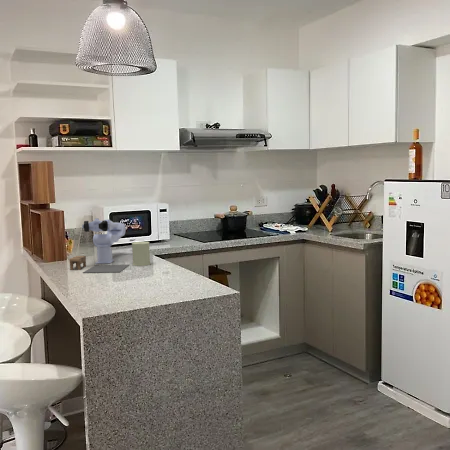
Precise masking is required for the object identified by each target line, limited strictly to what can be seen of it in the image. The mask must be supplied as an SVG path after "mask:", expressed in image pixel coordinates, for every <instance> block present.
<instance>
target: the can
mask: <svg viewBox="0 0 450 450" xmlns="http://www.w3.org/2000/svg"><path fill="white" fill-rule="evenodd" d="M131 249H132V266H133V267H134V266H135V267H145V266H151V258H150V257H151V256H150V251H151V250H150V241H135V242H131Z"/></svg>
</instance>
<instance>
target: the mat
mask: <svg viewBox="0 0 450 450" xmlns="http://www.w3.org/2000/svg"><path fill="white" fill-rule="evenodd" d="M129 266H130V264H100V265H99V264H96V265H93V266H91V267H90V268H88V269H86V270H85V271H83V272H82V273H83V274H96V273H97V274H103V273H104V274H112V273H115V274H116V273H117V274H118V273H121V272H122V271H124V270H126V268H128V267H129Z"/></svg>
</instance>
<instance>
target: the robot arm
mask: <svg viewBox="0 0 450 450" xmlns="http://www.w3.org/2000/svg"><path fill="white" fill-rule="evenodd" d="M126 228H127V227H126V225H125V223H123V222H116V221H115V222H113V221H112V220H111V219H104V220H100V219H99V218H94V220H93V221H90V222H89V220H84V222H83V224H82V225H81V229H83V232H86V233H87V232H90V231H91V232H95V234H94V235H93V237H92V242H93V245H94V246H95V248H96V255H97V257H96V258H97V261H96V262H95V264H96V265H99V264H100V265H105V264H112V262H114V261H115V259H113V248H111V247H112V246H113V244H114V243H118V242H119V240H120V239H121V238H122V237H123V236H125V234H126V230H127V229H126ZM99 232H106V233H103V234H101V233H100V234H99ZM96 233H98V234H96Z"/></svg>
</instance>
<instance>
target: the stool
mask: <svg viewBox="0 0 450 450" xmlns="http://www.w3.org/2000/svg"><path fill="white" fill-rule="evenodd" d="M74 264H75V268H77V270H78V271H81V270H82V268H81V267H82V266H83V268H86V267H87V255H75V256H73V257H71V258H69V267H70V269H69V270H70V271H73V270H74ZM81 265H82V266H81Z"/></svg>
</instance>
